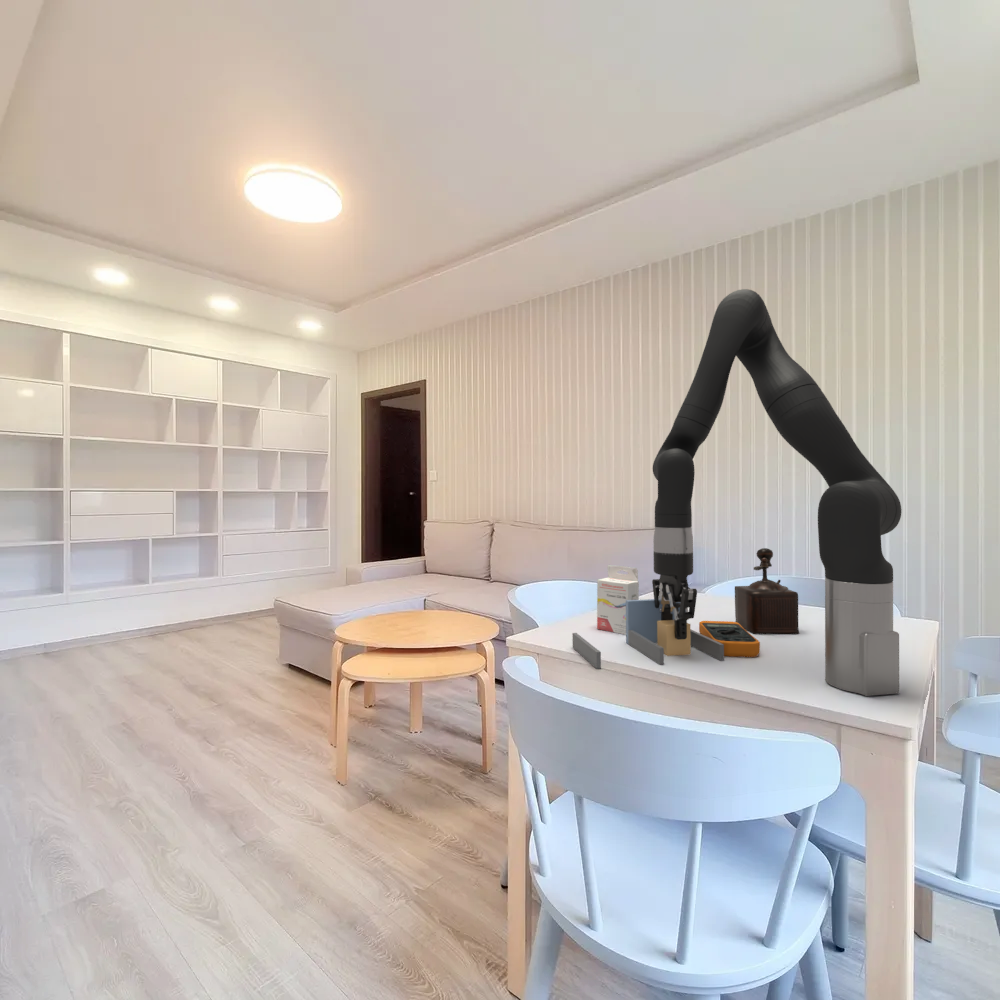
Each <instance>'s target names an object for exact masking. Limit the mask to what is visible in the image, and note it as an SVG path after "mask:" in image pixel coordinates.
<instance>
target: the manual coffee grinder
mask: <svg viewBox="0 0 1000 1000" xmlns="http://www.w3.org/2000/svg"><path fill="white" fill-rule="evenodd" d="M773 556H774V552H773V550H772V549H770V548H765V547H763V548H760V549H758V550H757V551H756V557H757V558H758V559H759V561H760V564H759V565H756V566H754V567H753V570H754V571H761V570H762V579H760V580H756V581H754V582H752V583H750V584H749V585H736V586H734V611H735V612H734V613H735V621H734V622H737V623H739V624H740V625H741V626H742V627H743V628H744V629H745V630H746V631H747V632H748V633H750V634H753V635H799V634H800V631H799V594H798V592H797V591H794V590H791V589H789V587H788V586H785V585H782V584H780V583H781V581H782V580H781V579H778V580H777V581H774V580H772V579H771V580H770V579H769V578H768V569H769V568H771V567H772V565H773V564H772V563H771V559H772V558H773Z"/></svg>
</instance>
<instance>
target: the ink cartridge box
mask: <svg viewBox="0 0 1000 1000" xmlns="http://www.w3.org/2000/svg"><path fill="white" fill-rule="evenodd" d="M621 571H623V572H626V574H625V573H619V572H621ZM638 573H639V571H638V568H637V567H629V566H624V565H623V566H621V565H610V564H608V565H607V577H603V578H599V579H597V580H596V581H597V584H596V587H597V589H596V590H597V591H596V593H597V594H596V595H597V597H596V600H597V601H596V607H597V609H596V611H597V612H596V618H597V619H596V622H597V623H596V629H597V630H602V631H607V632H611V633H616V634H620V635H625V636H626V600H640V598H639V597H640V595H639V592H640V588H639V587H640V584H639V583H640V582H639V575H638Z"/></svg>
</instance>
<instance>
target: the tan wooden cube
mask: <svg viewBox="0 0 1000 1000" xmlns="http://www.w3.org/2000/svg"><path fill="white" fill-rule="evenodd" d="M690 629H691V623H688V622H687V638H686V639H680V640H678V639H676V638H675V620H663V621H657V643H656V644H657V645H659V646H661V647H663V648H664V655H665V656H666V657H669V656H671V657H673V656H686V655H689V656H691V654H692V651H691V650H692V649H691V647H692V646H691V634H690Z"/></svg>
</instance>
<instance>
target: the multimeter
mask: <svg viewBox="0 0 1000 1000" xmlns="http://www.w3.org/2000/svg"><path fill="white" fill-rule="evenodd" d="M698 625H699V627H698V631H699V632H698V633H700V634H702V635H704V636H706V637H709V638H711V639H713V640H715V641H717V642H720V643H722V644H724V657H734V658H756V657H758V656H759V655H760V652H761V644H760V643H761V642H760V641H759V640H758V639H757V638H755V636H753V635H752V633H751V632H749V631H747V630H745V629H744V628H743V627H742V626H741V625H740V624H739V623H737V622H735V621H727V620H726V621H724V620H723V621H722V620H701V621H699V623H698Z"/></svg>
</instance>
